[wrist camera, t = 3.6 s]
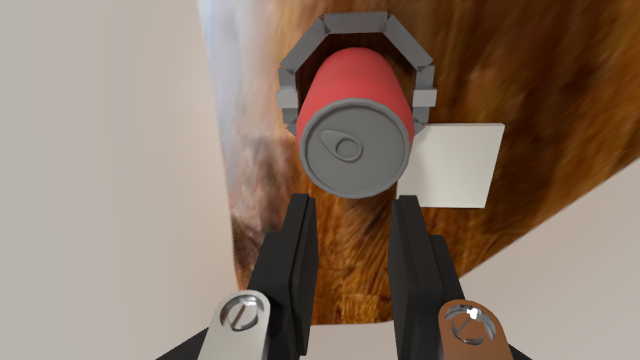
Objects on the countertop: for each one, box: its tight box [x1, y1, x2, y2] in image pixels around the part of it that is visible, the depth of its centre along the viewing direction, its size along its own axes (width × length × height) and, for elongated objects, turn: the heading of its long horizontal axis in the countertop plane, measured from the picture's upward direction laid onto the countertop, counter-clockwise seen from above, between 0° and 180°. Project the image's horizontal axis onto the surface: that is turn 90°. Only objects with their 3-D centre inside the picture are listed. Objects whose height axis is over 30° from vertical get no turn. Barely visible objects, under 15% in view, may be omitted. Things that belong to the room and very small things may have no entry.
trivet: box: [396, 123, 505, 208], centre depth 29 cm, size 8×8×1 cm
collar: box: [276, 10, 437, 136], centre depth 26 cm, size 11×12×3 cm
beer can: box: [296, 47, 415, 199], centre depth 22 cm, size 7×7×12 cm
